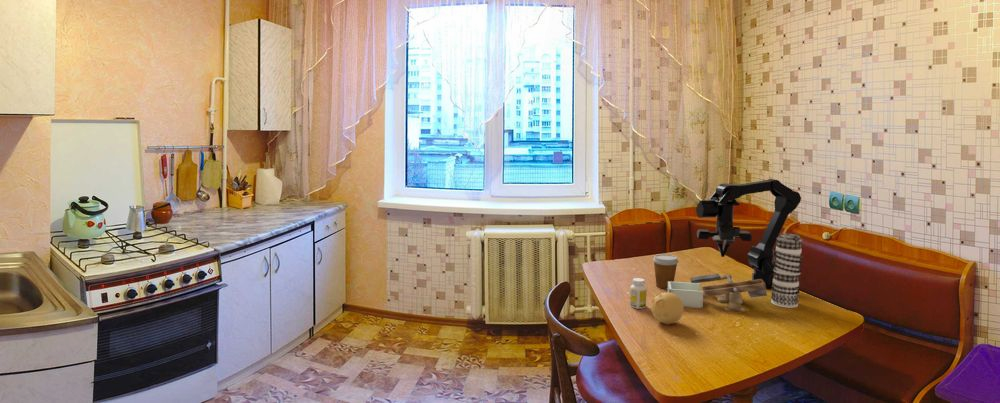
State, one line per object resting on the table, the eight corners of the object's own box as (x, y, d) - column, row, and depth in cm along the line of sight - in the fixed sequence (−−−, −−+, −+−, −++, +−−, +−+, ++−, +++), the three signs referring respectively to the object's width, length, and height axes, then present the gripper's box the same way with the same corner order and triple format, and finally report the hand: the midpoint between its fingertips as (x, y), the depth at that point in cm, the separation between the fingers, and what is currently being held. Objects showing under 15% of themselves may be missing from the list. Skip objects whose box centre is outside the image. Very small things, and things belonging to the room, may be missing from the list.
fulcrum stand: (740, 298, 183) (741, 283, 182) (747, 311, 170) (748, 294, 169) (716, 297, 185) (717, 281, 184) (722, 309, 172) (723, 293, 172)
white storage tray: (699, 299, 183) (700, 283, 182) (702, 308, 174) (703, 291, 173) (667, 296, 186) (667, 281, 185) (668, 305, 177) (669, 289, 176)
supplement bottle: (646, 304, 178) (647, 278, 177) (645, 309, 173) (646, 282, 172) (630, 303, 180) (631, 276, 179) (629, 308, 175) (630, 281, 174)
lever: (756, 281, 186) (754, 268, 185) (769, 298, 168) (766, 284, 167) (692, 289, 192) (690, 277, 192) (698, 306, 174) (695, 293, 174)
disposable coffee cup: (678, 291, 192) (680, 260, 191) (653, 289, 194) (654, 259, 192) (675, 283, 202) (676, 254, 200) (650, 282, 203) (651, 253, 202)
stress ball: (683, 323, 163) (666, 297, 169) (694, 309, 156) (676, 282, 162) (657, 332, 161) (641, 306, 166) (667, 318, 153) (650, 291, 159)
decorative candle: (764, 299, 182) (768, 232, 178) (788, 298, 183) (793, 231, 179) (780, 308, 173) (785, 238, 169) (805, 307, 174) (811, 237, 170)
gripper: (701, 220, 186) (698, 260, 188) (756, 222, 181) (753, 263, 183) (697, 214, 196) (695, 253, 199) (749, 216, 191) (747, 256, 194)
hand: (722, 256), depth 193 cm, fingers closed
